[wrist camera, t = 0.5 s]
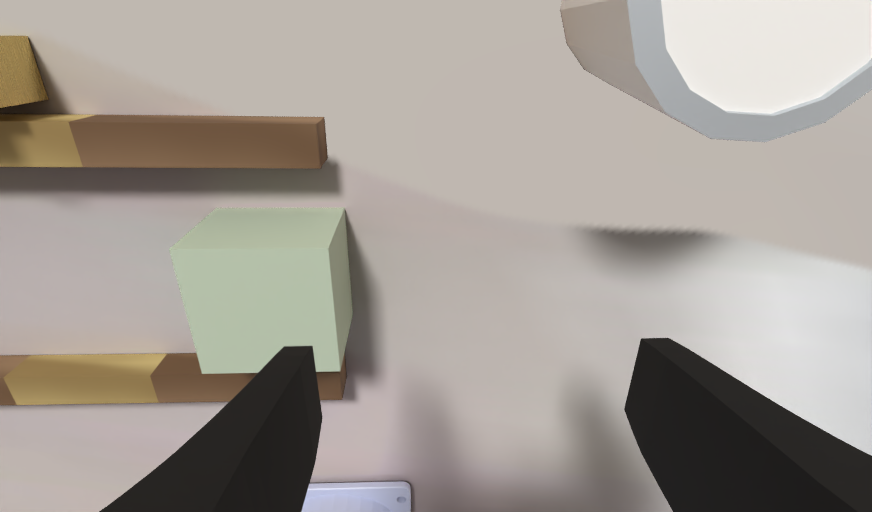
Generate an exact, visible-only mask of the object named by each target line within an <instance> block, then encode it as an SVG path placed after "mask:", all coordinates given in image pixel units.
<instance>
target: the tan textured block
mask: <svg viewBox="0 0 872 512" xmlns="http://www.w3.org/2000/svg"><path fill="white" fill-rule="evenodd" d="M43 100H48V97H47V94H46V91H45V88H44V85H43V82H42V79H41V76H40V73H39V70H38V67H37V64H36V61H35V58H34V55H33V51H32V48H31V45H30V42H29V39H28V36H0V108H2V107H8V106H14V105H20V104H25V103H31V102H37V101H43Z"/></svg>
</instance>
